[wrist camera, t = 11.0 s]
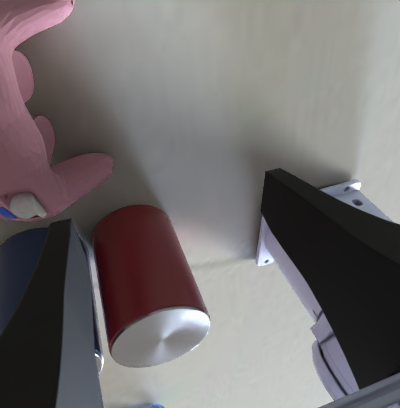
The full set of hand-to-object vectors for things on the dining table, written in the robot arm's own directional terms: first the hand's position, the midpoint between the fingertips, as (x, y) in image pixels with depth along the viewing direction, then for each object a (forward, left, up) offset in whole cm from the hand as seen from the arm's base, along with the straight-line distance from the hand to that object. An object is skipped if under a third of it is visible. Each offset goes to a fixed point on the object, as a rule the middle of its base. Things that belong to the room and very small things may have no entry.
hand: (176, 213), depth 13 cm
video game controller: (+5, -1, -10) cm, 11 cm away
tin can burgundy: (+1, +10, -10) cm, 14 cm away
